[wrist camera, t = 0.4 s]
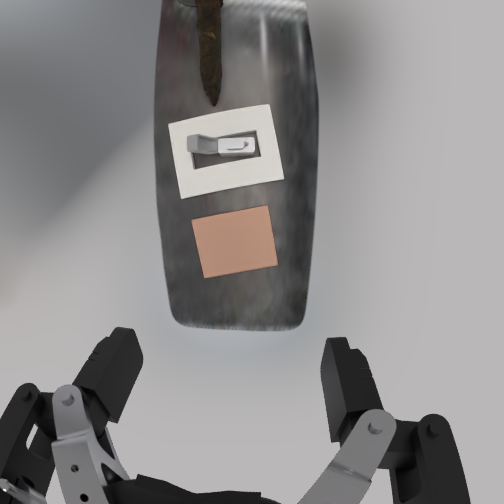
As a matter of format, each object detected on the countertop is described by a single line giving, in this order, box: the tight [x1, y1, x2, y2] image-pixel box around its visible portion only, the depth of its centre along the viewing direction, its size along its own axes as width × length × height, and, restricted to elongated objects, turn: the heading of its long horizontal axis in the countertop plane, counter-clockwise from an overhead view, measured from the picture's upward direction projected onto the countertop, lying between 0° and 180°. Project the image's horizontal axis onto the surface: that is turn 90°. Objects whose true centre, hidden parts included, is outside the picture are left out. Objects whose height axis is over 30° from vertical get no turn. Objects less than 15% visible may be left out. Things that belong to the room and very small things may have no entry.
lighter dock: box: [168, 104, 284, 199], centre depth 32 cm, size 10×13×2 cm
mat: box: [192, 205, 278, 278], centre depth 36 cm, size 8×10×1 cm
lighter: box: [187, 134, 255, 157], centre depth 29 cm, size 7×2×8 cm, turn 92°
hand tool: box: [195, 0, 223, 106], centre depth 28 cm, size 19×4×5 cm, turn 2°
